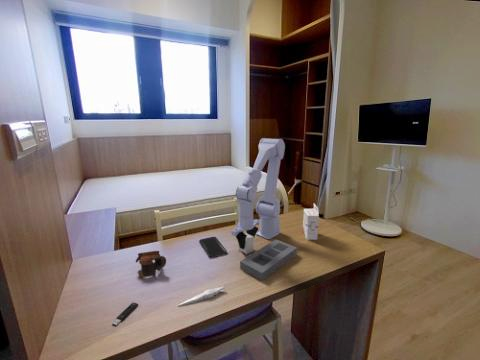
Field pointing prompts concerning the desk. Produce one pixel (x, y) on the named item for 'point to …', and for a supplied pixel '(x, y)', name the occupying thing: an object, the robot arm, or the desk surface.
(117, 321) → the usb flash drive
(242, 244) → the robot arm
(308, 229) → the ink cartridge box
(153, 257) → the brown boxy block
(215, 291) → the white tapered rod
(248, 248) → the plug
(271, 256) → the power strip
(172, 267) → the desk surface
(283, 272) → the desk surface
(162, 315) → the desk surface
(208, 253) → the phone
